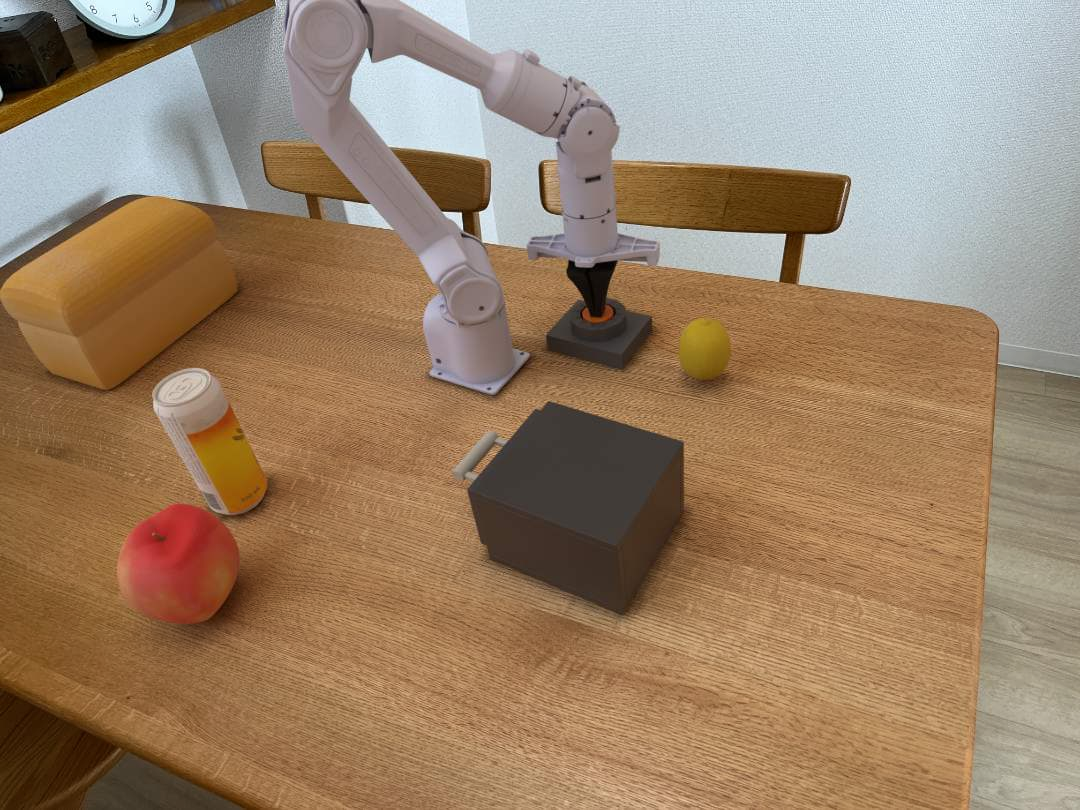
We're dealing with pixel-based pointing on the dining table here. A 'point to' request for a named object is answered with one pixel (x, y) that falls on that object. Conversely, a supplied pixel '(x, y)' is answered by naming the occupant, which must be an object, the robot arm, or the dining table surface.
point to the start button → (606, 317)
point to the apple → (178, 565)
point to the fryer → (583, 503)
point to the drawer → (474, 459)
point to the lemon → (704, 349)
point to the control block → (600, 335)
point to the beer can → (210, 440)
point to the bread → (120, 290)
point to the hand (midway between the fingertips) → (598, 312)
